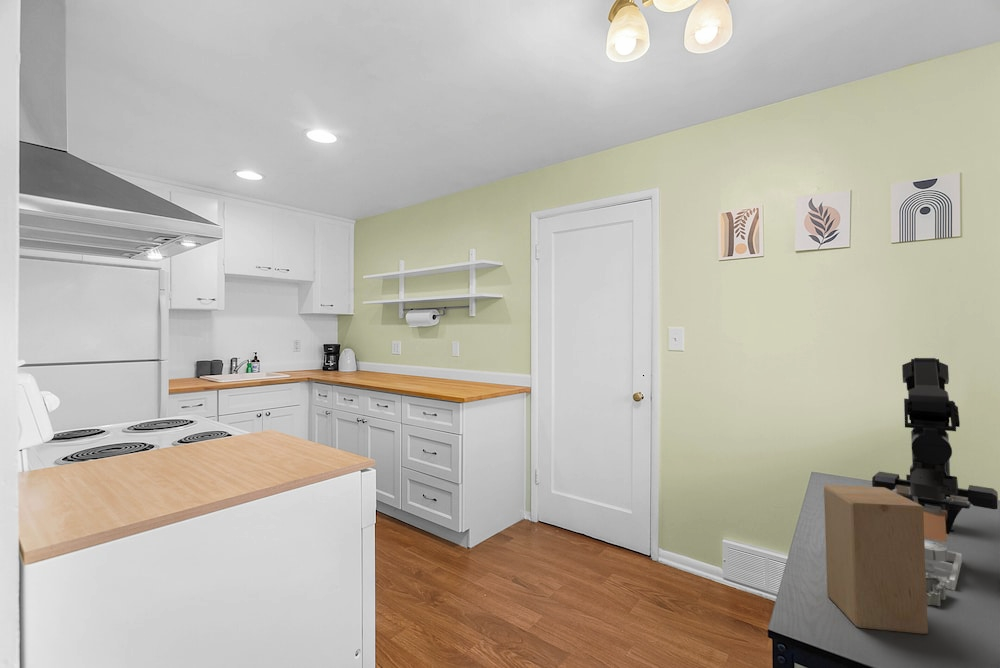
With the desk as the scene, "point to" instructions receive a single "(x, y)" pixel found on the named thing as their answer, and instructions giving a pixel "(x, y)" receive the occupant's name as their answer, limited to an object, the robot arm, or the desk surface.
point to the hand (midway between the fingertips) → (933, 530)
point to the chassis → (946, 569)
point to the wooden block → (876, 558)
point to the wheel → (935, 551)
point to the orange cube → (935, 523)
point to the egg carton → (935, 589)
